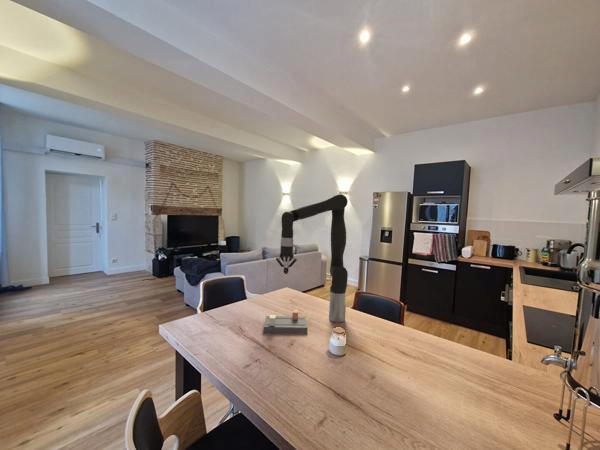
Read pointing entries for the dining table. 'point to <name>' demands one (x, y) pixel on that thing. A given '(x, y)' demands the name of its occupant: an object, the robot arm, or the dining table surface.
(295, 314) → the terracotta fader
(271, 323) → the cream fader
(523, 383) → the dining table surface
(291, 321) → the fader console
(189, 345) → the dining table surface
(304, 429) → the dining table surface
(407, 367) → the dining table surface
